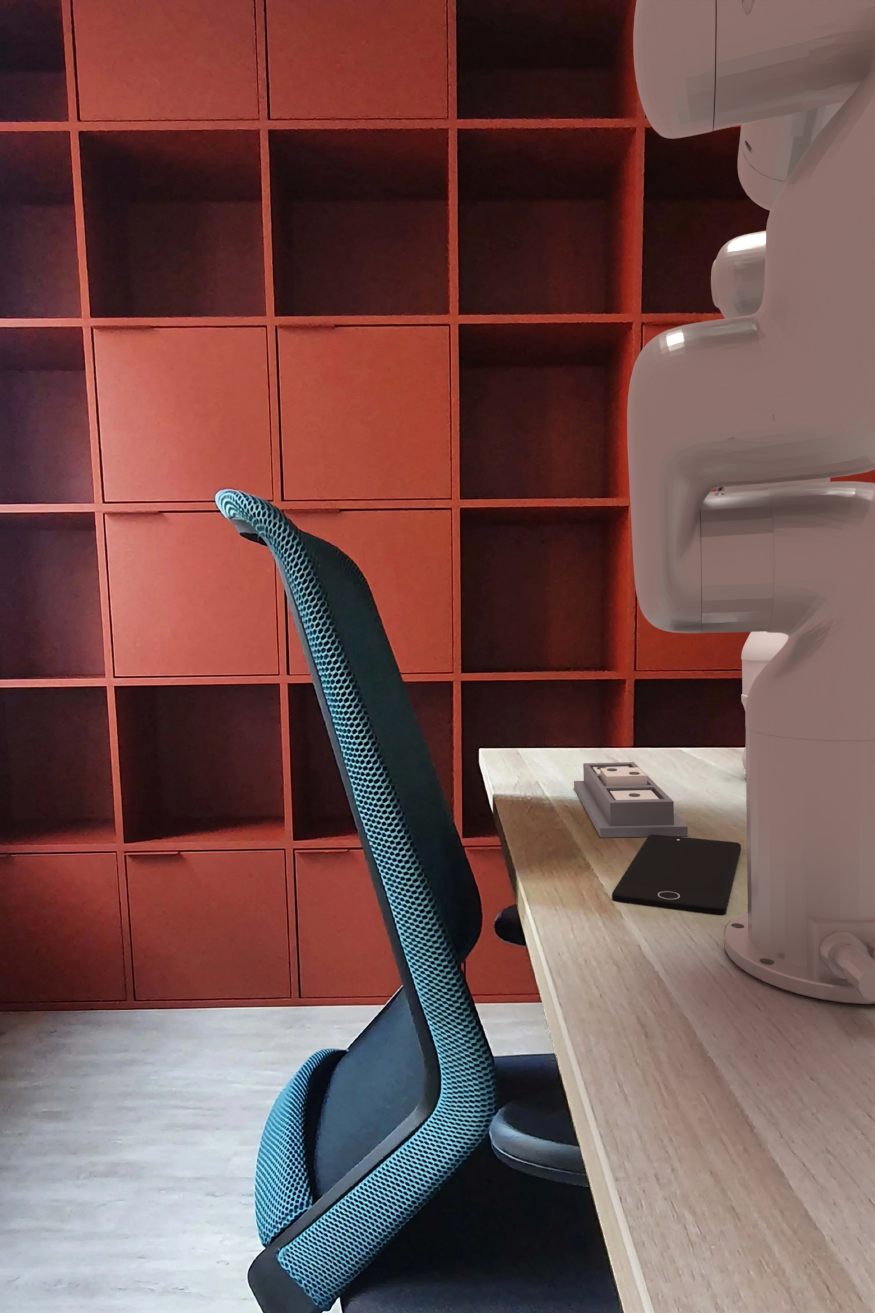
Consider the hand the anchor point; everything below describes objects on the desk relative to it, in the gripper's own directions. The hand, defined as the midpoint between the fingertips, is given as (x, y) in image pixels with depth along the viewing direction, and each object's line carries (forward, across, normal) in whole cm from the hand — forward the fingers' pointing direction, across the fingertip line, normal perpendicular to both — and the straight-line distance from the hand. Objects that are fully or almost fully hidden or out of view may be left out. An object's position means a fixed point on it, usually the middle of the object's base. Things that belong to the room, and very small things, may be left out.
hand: (771, 572), depth 79 cm
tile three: (+26, -14, +15) cm, 33 cm away
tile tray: (+27, -14, +9) cm, 32 cm away
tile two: (+25, -14, +9) cm, 30 cm away
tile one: (+26, -14, +3) cm, 29 cm away
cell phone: (+28, -13, -12) cm, 33 cm away
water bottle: (+27, +8, +22) cm, 36 cm away
